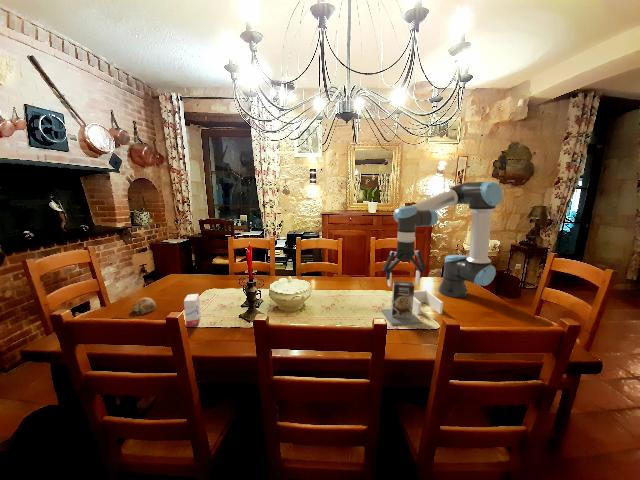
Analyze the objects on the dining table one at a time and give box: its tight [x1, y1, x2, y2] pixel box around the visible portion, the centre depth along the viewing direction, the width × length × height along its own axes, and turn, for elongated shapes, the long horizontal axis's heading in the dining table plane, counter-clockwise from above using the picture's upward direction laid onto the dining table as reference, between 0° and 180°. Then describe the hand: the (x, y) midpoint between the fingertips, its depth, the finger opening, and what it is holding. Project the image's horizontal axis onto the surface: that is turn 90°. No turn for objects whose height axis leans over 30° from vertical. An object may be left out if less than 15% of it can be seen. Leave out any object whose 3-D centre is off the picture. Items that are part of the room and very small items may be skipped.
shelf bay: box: [412, 290, 444, 315], centre depth 137 cm, size 12×16×6 cm
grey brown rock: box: [131, 296, 157, 315], centre depth 130 cm, size 10×10×8 cm
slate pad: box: [381, 308, 422, 326], centre depth 126 cm, size 14×14×1 cm
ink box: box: [183, 293, 202, 327], centre depth 118 cm, size 9×5×12 cm, turn 16°
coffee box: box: [390, 280, 415, 319], centre depth 125 cm, size 9×6×16 cm
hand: (403, 285), depth 123 cm, fingers open, 13 cm apart
